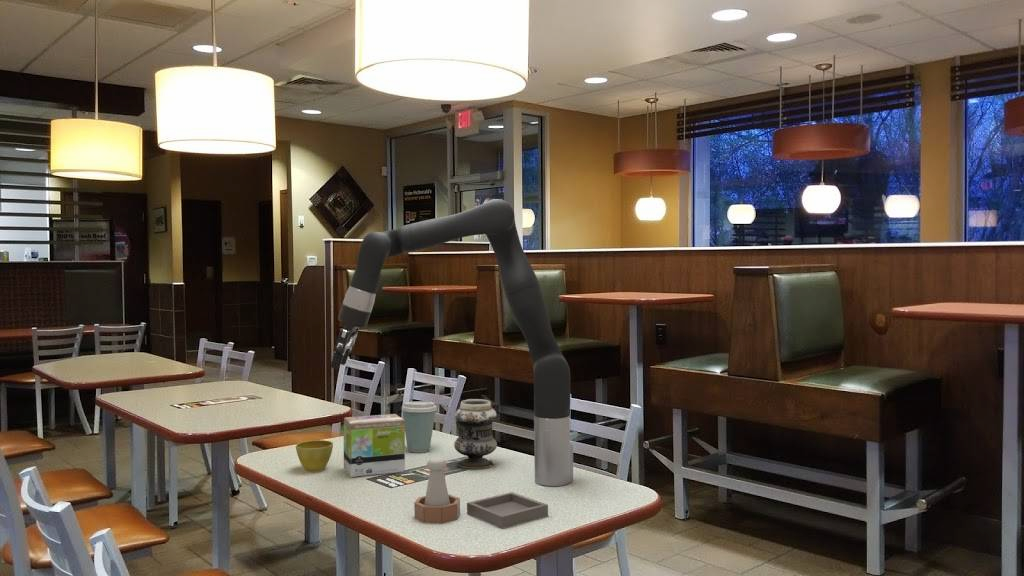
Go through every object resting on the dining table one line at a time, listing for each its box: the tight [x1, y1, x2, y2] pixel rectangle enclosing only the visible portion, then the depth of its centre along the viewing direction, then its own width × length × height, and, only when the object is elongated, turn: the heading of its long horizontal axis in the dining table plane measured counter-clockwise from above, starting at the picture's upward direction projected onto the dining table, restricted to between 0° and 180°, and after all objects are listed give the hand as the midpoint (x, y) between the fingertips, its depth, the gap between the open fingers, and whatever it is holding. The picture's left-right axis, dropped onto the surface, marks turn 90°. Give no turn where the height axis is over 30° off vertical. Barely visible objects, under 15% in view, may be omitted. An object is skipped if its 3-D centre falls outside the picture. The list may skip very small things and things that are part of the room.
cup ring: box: [413, 493, 461, 524], centre depth 176 cm, size 10×10×4 cm
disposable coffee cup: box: [401, 401, 437, 454], centre depth 238 cm, size 11×11×15 cm
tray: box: [466, 491, 549, 529], centre depth 176 cm, size 13×13×2 cm
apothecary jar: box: [453, 398, 498, 470], centre depth 221 cm, size 12×12×18 cm
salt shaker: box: [424, 457, 450, 506], centre depth 176 cm, size 6×6×13 cm
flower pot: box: [295, 439, 334, 473], centre depth 217 cm, size 10×10×7 cm
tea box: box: [343, 413, 406, 478], centre depth 215 cm, size 15×10×15 cm, turn 114°
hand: (337, 366), depth 202 cm, fingers open, 8 cm apart
